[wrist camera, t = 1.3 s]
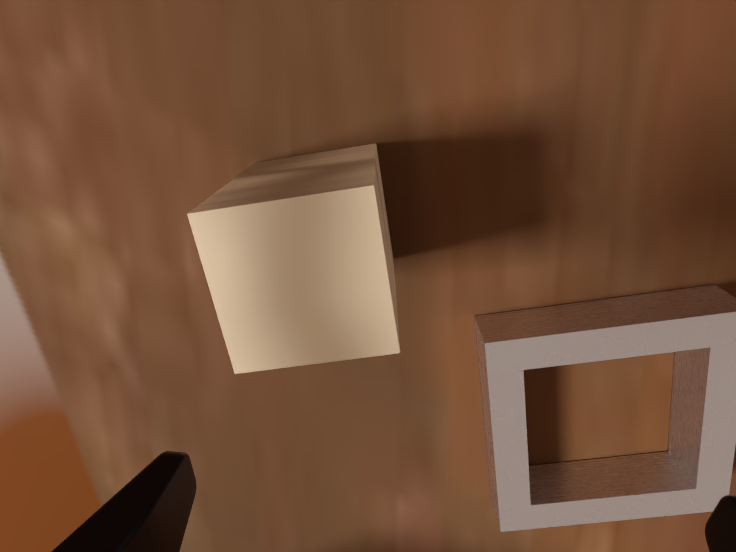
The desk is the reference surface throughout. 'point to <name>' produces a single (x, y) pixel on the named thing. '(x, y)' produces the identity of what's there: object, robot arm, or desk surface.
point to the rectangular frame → (604, 342)
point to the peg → (301, 261)
